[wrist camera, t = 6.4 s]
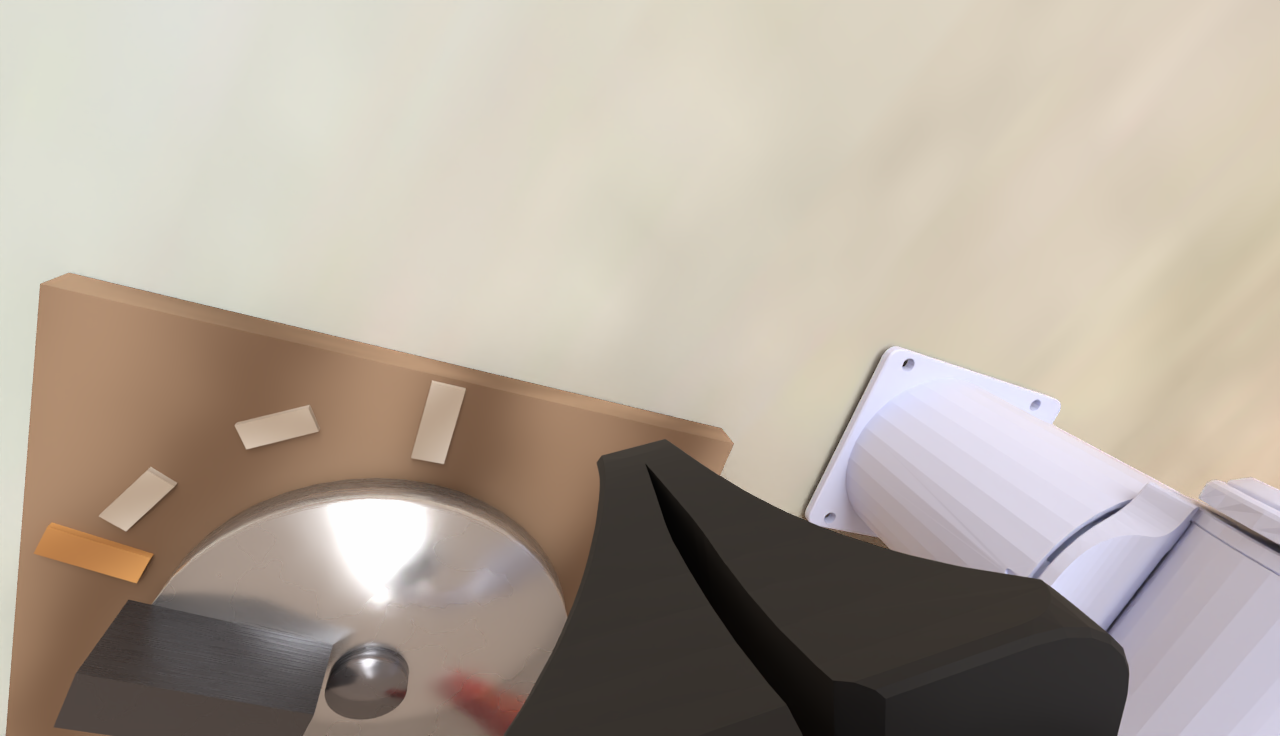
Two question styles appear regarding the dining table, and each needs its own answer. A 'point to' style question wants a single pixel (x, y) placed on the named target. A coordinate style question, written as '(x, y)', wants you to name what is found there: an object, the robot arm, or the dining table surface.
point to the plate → (261, 453)
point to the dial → (333, 623)
